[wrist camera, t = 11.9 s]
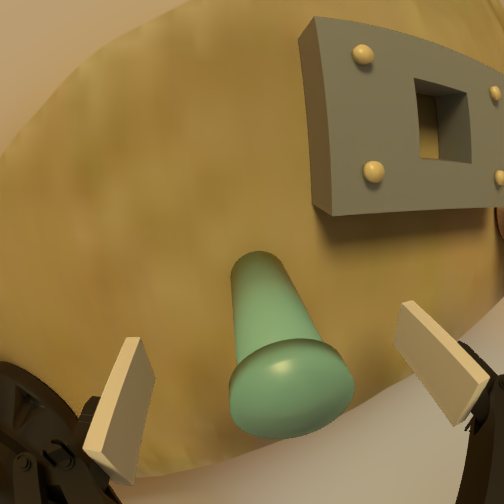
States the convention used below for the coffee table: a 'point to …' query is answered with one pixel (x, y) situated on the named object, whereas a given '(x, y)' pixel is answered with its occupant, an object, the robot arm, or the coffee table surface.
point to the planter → (500, 220)
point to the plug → (280, 356)
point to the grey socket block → (398, 122)
